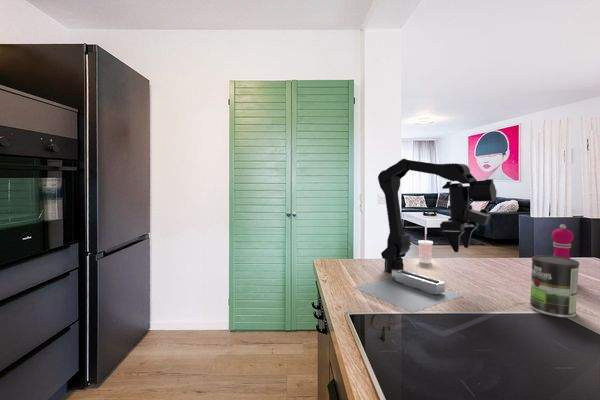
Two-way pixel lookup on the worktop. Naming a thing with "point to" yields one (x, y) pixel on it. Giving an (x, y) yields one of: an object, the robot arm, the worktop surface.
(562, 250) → the pepper mill
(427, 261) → the beverage cup
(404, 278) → the bar
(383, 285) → the label board
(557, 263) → the coffee can
